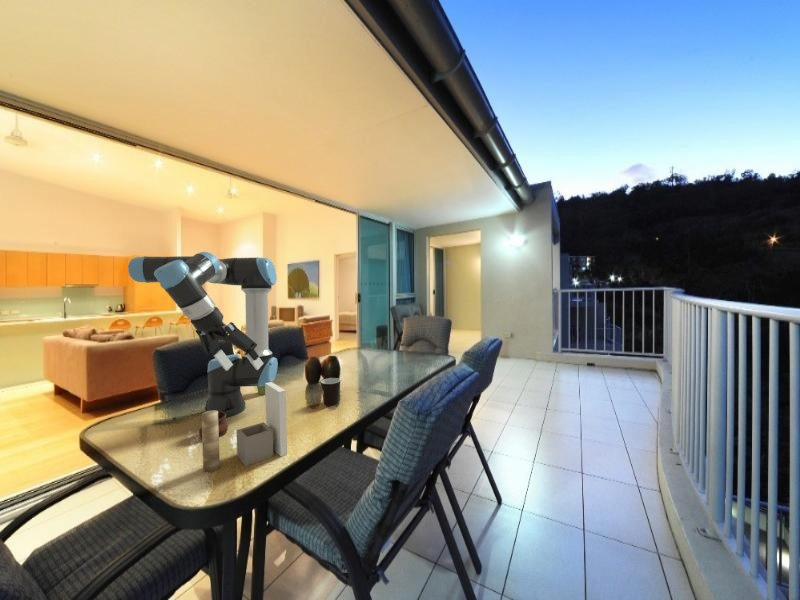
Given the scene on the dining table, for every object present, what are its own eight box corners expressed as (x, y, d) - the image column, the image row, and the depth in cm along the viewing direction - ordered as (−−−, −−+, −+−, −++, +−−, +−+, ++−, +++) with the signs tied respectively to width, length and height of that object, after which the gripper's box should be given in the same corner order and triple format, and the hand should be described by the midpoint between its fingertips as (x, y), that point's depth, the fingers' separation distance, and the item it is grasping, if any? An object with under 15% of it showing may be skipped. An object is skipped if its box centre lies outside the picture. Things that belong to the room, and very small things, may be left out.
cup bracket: (247, 469, 87) (245, 399, 86) (235, 453, 96) (233, 389, 95) (287, 454, 95) (285, 390, 94) (272, 440, 103) (271, 381, 103)
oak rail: (199, 472, 86) (197, 415, 85) (209, 464, 90) (208, 410, 89) (213, 472, 85) (211, 416, 85) (222, 464, 89) (221, 410, 89)
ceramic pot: (222, 420, 121) (221, 402, 120) (253, 429, 113) (252, 410, 112) (171, 441, 105) (170, 421, 104) (203, 454, 97) (202, 432, 96)
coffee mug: (338, 406, 133) (338, 383, 133) (318, 406, 133) (318, 383, 133) (344, 397, 145) (343, 376, 144) (325, 397, 145) (325, 376, 144)
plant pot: (270, 396, 147) (269, 378, 147) (250, 396, 147) (250, 378, 147) (278, 390, 156) (277, 373, 156) (260, 390, 157) (259, 373, 156)
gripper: (164, 324, 88) (209, 376, 99) (223, 317, 78) (266, 375, 89) (186, 309, 94) (225, 359, 104) (243, 300, 84) (281, 357, 94)
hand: (244, 367), depth 97 cm, fingers open, 13 cm apart
